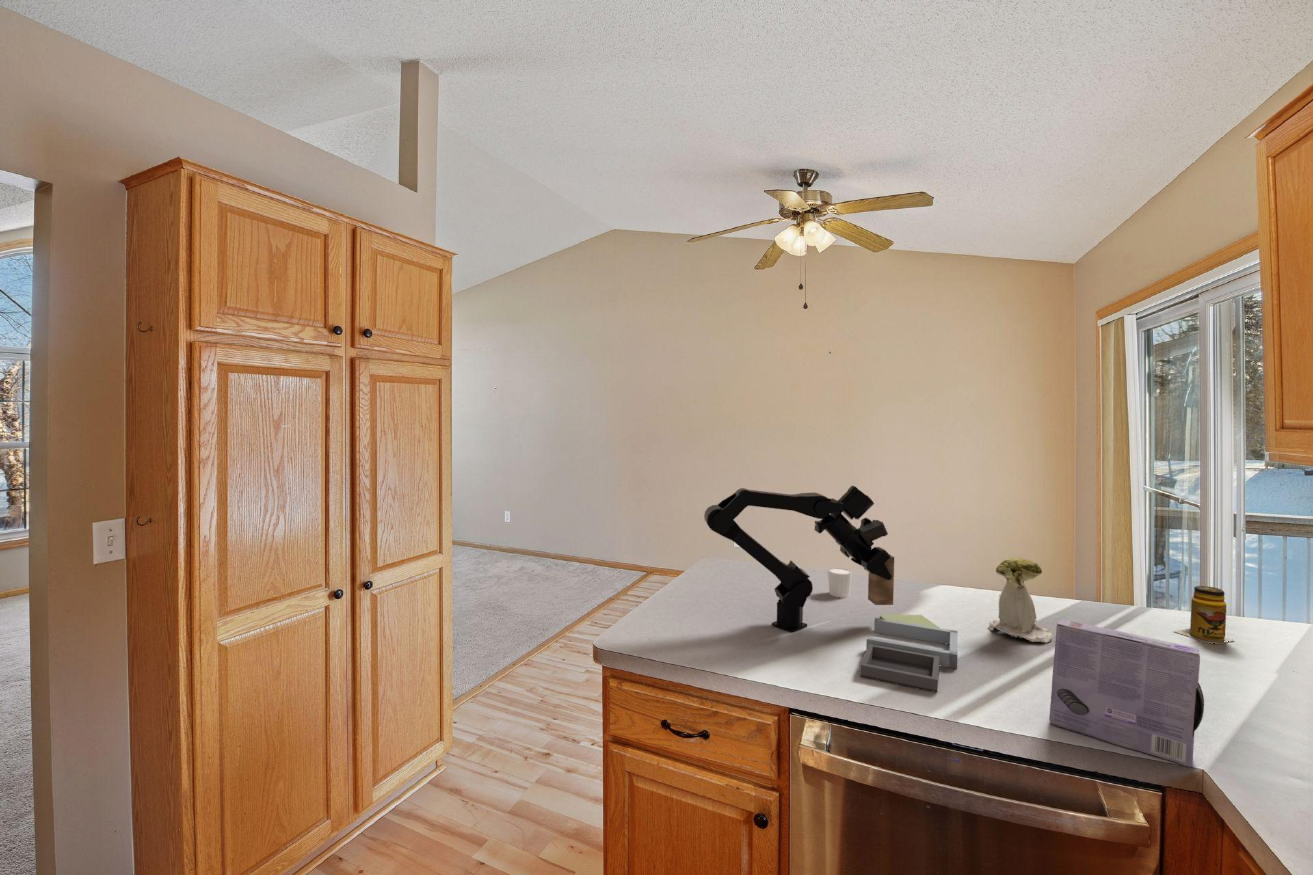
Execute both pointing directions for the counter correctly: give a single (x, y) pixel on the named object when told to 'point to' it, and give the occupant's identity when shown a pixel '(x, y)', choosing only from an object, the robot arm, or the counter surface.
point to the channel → (918, 633)
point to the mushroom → (1018, 601)
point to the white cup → (839, 582)
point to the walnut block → (882, 586)
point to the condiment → (1207, 616)
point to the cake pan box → (1127, 690)
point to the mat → (910, 619)
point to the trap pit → (901, 667)
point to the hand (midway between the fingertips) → (886, 576)
